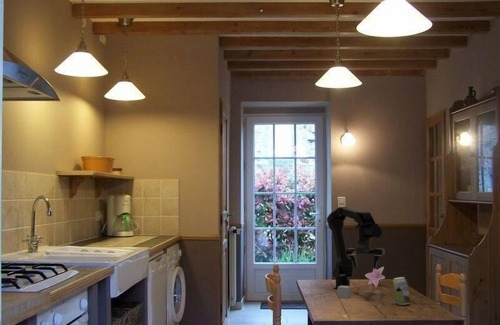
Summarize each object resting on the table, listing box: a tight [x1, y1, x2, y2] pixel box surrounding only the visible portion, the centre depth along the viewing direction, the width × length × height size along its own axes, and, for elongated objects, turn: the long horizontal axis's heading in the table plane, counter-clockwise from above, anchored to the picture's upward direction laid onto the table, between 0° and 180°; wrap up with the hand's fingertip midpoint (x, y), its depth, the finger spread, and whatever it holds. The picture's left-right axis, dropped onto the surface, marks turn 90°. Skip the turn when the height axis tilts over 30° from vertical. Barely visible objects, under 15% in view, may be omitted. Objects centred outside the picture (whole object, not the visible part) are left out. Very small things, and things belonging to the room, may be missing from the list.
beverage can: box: [392, 276, 411, 306], centre depth 249 cm, size 6×7×12 cm
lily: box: [365, 266, 386, 287], centre depth 305 cm, size 12×12×10 cm
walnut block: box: [363, 289, 381, 302], centre depth 261 cm, size 6×6×4 cm
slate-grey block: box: [337, 285, 352, 299], centre depth 269 cm, size 5×5×5 cm
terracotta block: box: [358, 283, 373, 296], centre depth 275 cm, size 5×5×5 cm
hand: (365, 269), depth 276 cm, fingers open, 9 cm apart
